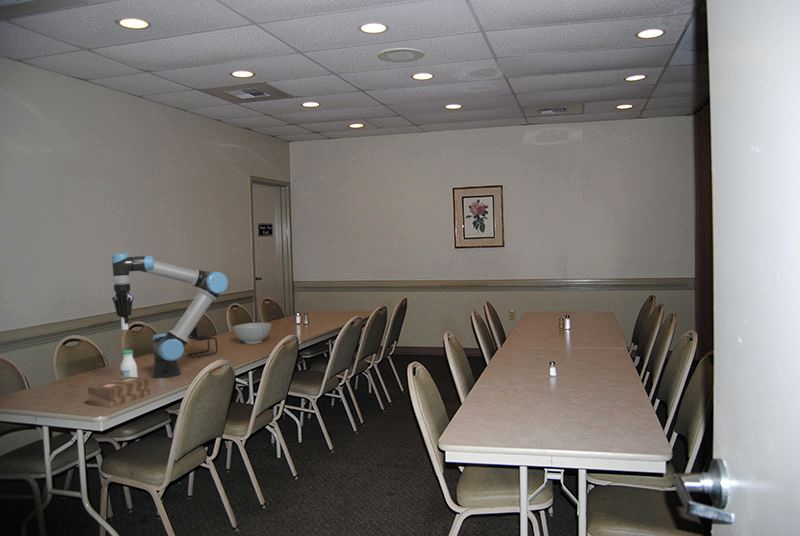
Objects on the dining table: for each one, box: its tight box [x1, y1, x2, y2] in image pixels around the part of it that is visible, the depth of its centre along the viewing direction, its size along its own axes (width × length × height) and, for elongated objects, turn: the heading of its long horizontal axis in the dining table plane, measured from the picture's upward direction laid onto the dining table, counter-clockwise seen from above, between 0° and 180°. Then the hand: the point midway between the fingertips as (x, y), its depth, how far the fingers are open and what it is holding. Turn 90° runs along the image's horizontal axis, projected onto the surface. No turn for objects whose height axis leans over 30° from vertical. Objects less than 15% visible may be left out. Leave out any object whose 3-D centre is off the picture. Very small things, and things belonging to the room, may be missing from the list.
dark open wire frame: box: [185, 325, 219, 359], centre depth 382 cm, size 13×17×22 cm
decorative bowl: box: [232, 322, 272, 345], centre depth 424 cm, size 27×27×12 cm
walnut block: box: [87, 377, 151, 409], centre depth 279 cm, size 22×14×8 cm, turn 155°
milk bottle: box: [119, 349, 138, 379], centre depth 296 cm, size 8×8×20 cm
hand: (124, 329), depth 304 cm, fingers closed
